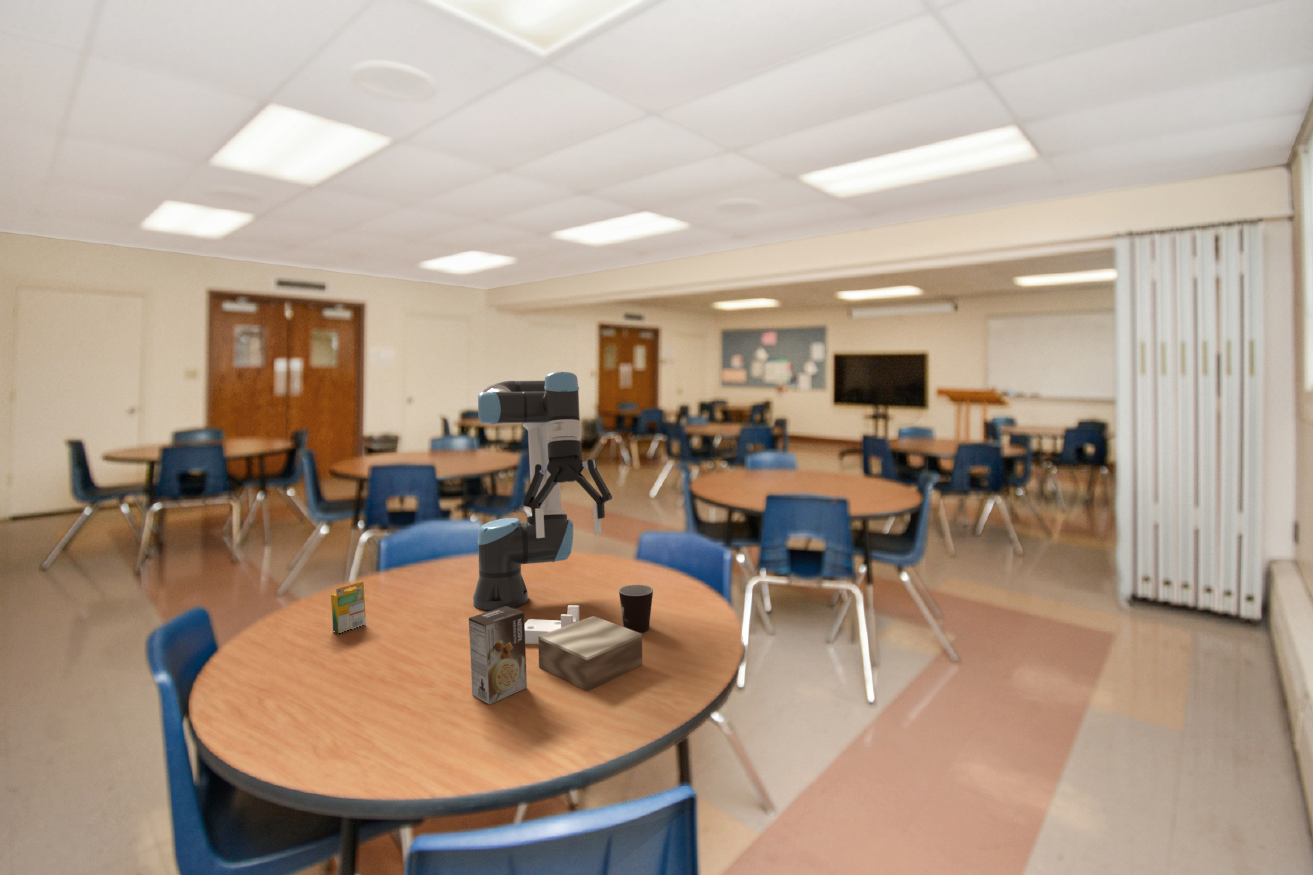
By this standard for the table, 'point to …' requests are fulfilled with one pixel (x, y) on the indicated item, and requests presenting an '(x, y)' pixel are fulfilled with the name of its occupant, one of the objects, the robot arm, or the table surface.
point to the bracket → (549, 624)
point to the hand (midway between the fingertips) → (569, 536)
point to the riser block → (590, 652)
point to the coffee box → (497, 654)
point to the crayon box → (348, 608)
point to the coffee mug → (636, 607)
